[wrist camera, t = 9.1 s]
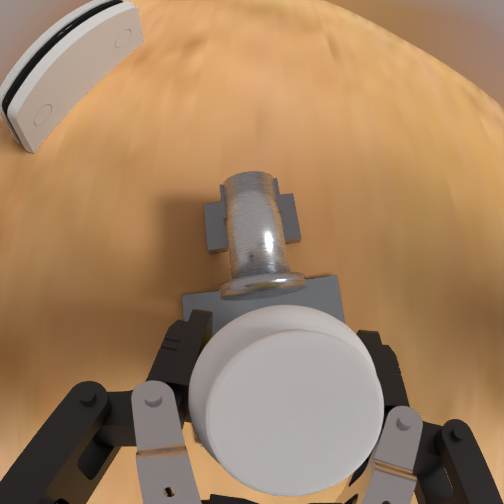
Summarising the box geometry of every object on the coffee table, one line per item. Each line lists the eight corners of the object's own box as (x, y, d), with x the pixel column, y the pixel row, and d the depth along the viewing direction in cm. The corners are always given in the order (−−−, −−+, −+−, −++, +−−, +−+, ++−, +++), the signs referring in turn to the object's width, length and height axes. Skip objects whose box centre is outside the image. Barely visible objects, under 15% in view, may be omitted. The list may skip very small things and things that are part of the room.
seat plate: (335, 276, 21) (336, 275, 20) (354, 423, 18) (356, 424, 18) (182, 295, 21) (181, 294, 20) (202, 444, 18) (201, 446, 18)
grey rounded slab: (117, 33, 28) (113, -28, 19) (145, 50, 29) (147, -13, 20) (12, 139, 25) (-29, 94, 15) (37, 161, 26) (-3, 119, 16)
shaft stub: (291, 198, 22) (303, 150, 16) (308, 295, 21) (329, 277, 15) (205, 208, 22) (188, 163, 16) (214, 307, 20) (197, 294, 14)
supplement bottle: (246, 440, 15) (240, 553, 5) (197, 350, 16) (121, 359, 6) (341, 392, 16) (446, 444, 6) (293, 302, 17) (349, 246, 7)
